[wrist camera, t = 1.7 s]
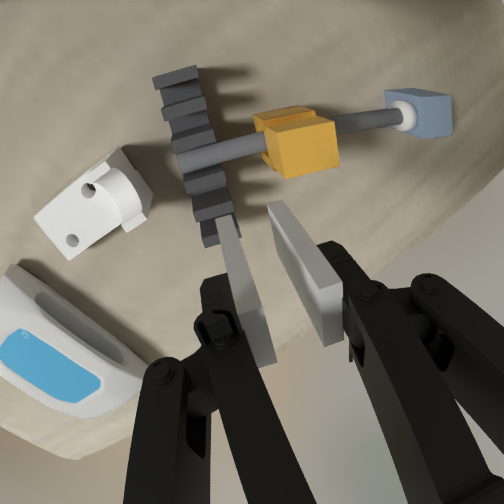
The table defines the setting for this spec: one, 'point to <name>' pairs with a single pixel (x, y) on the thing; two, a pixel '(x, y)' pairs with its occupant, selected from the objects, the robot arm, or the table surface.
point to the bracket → (96, 205)
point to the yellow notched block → (297, 141)
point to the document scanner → (62, 351)
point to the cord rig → (212, 154)
